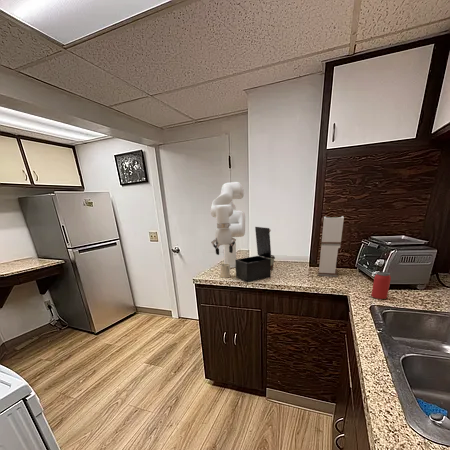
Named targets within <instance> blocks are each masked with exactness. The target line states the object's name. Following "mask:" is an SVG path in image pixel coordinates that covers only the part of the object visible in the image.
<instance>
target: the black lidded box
mask: <svg viewBox="0 0 450 450" xmlns="http://www.w3.org/2000/svg"><path fill="white" fill-rule="evenodd" d="M235 261H236V267H235V278H237V279H239V280H241V281H243V282H246V283H251V282H256V281H261V280H264V279H265V280H266V279H269V278H271V275H272V274H271V272H272V270H271V259H268V258H265V257H261V256H259V255H254V256H249V257H242V258H236V260H235Z"/></svg>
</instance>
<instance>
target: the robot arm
mask: <svg viewBox="0 0 450 450" xmlns="http://www.w3.org/2000/svg"><path fill="white" fill-rule="evenodd" d="M220 189H221V190H220V194H219V195H218V196H217V197H215V198H214V199H213V200H212V202H211V207H210V215H211V216H212V218H216V229H215V234H214V239H213V240H212V241H211V245H212V247H213V248H214V249H215V254H216V255H217V256H219V255H220V246H222V247H223V264H230V269H236V261H235V260H236V259H237V242H236V241H237V238H242V237H244V236H245V235H246V214H245V212H244V211H243V210H236V209H237V208H236V207H237V206H236V205H235V203H234V202H233V200H242V199H243V198H244V195H245V190H244V186H243V184H242V183H241V182H239V181H232V182H225V183H223V184H222V185H221V188H220Z"/></svg>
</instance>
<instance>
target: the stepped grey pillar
mask: <svg viewBox="0 0 450 450" xmlns="http://www.w3.org/2000/svg"><path fill="white" fill-rule="evenodd" d="M344 221H345V217H344V215H341V216H339V217H327V216H323V224H322V235H321V243H320V255H319V266H318V276H319V277H334V278H335V277H338V269H337V261H338V253H339V249H341V246H342V237H343V229H344Z"/></svg>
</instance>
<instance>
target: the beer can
mask: <svg viewBox="0 0 450 450" xmlns="http://www.w3.org/2000/svg"><path fill="white" fill-rule="evenodd" d="M391 280H392V277H391V273H390V272H386V271H378V272H376V273H375V276H374V278H373V282H372V289H371V298H373V299H376V300H386V299H387V298H388V295H389V290H390V286H391Z"/></svg>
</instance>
